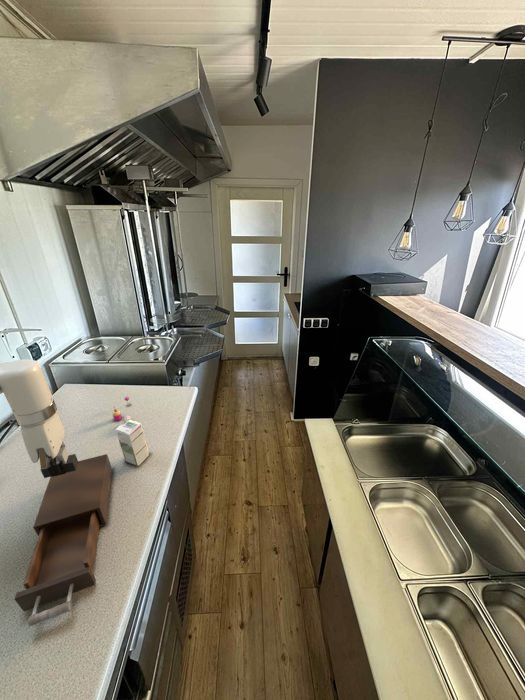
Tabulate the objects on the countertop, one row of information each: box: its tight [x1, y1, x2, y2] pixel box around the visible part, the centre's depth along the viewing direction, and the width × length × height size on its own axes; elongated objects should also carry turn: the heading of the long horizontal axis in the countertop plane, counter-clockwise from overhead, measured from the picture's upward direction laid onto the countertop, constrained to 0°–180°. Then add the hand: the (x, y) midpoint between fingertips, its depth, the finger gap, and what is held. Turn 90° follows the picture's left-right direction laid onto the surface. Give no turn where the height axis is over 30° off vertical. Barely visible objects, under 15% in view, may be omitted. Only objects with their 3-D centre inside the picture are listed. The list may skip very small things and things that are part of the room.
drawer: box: [14, 510, 100, 628], centre depth 67 cm, size 24×13×5 cm, turn 21°
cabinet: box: [32, 453, 113, 537], centre depth 82 cm, size 20×15×7 cm
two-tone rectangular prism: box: [40, 446, 79, 479], centre depth 73 cm, size 7×3×6 cm, turn 110°
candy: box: [112, 396, 132, 423], centre depth 116 cm, size 18×8×6 cm, turn 36°
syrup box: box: [115, 419, 150, 467], centre depth 95 cm, size 6×6×14 cm
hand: (61, 468), depth 74 cm, fingers closed on two-tone rectangular prism, 3 cm apart
